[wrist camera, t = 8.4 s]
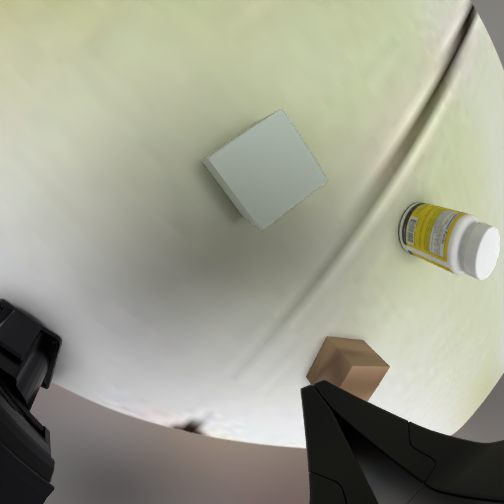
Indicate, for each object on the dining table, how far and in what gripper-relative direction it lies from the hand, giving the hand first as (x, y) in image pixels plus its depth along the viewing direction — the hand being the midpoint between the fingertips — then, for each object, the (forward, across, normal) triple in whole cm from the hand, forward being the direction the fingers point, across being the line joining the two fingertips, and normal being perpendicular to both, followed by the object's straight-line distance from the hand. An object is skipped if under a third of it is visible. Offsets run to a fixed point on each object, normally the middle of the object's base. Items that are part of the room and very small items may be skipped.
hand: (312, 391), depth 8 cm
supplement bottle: (+12, -16, +1) cm, 20 cm away
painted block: (+12, -2, -6) cm, 14 cm away
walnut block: (+12, -7, +12) cm, 18 cm away
